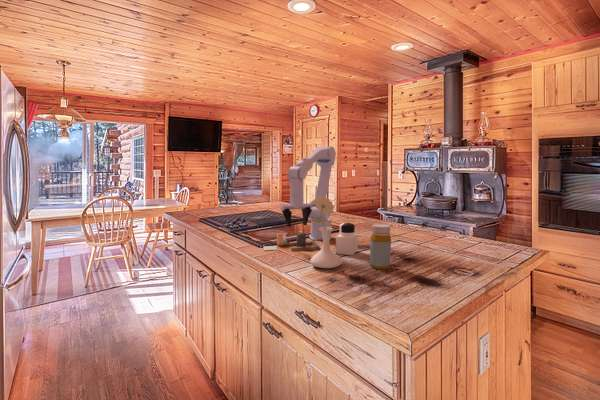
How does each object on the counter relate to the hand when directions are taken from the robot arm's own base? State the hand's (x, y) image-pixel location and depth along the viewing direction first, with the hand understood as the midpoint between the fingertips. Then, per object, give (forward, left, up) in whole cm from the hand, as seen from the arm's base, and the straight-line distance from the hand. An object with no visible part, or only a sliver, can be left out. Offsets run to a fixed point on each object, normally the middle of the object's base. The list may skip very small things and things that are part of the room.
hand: (296, 225), depth 147 cm
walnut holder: (-3, +1, -9) cm, 10 cm away
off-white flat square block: (+12, +1, -9) cm, 15 cm away
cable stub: (-2, +1, -9) cm, 10 cm away
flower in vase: (-6, +27, -10) cm, 29 cm away
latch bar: (+6, -8, -9) cm, 14 cm away
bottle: (-25, +32, -10) cm, 42 cm away
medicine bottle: (-19, +12, -10) cm, 24 cm away
